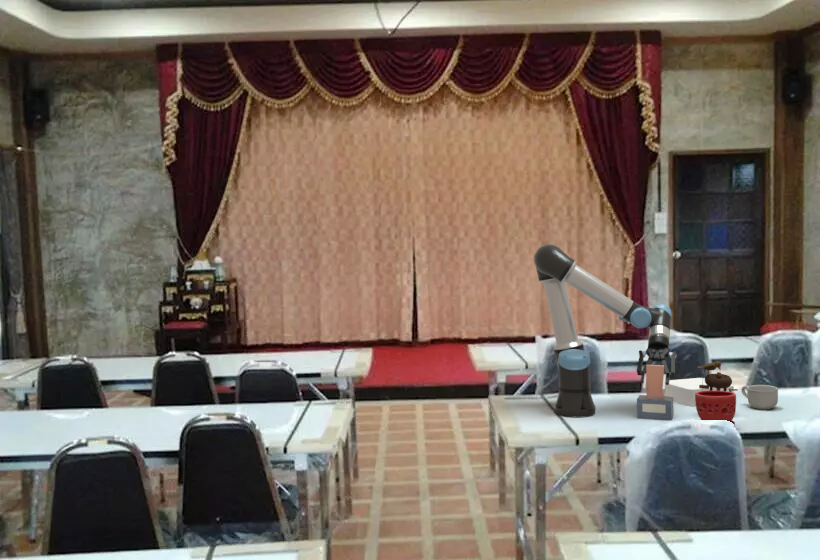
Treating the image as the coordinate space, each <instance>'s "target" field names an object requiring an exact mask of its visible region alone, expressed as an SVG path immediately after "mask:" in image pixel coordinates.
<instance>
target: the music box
mask: <svg viewBox="0 0 820 560" xmlns="http://www.w3.org/2000/svg"><path fill="white" fill-rule="evenodd" d="M696 367H697V369H702V372H701V373H704V371H705V370H706V371H707V374H706V376H705V377H704V378H705V383H706V384H707V385H703V382H702V385H699V388H702V391H703V389H709V387H710V391H713V388H717V391H720V389H721V388H724V391H726V389H727V388H728V387H730V386H731V385H733V379H732V378H731V377H730V375H728V374H725V373H724V374H722V372H721V371H722V370H721V367H722V363H721V361H718V360H716V361H715V362H709V363H706V364H704V365H702V366H701V365H700V366H696ZM717 368H718V369H719V371H716V373H710V371H714V370H717ZM731 390H732V391H734V392H735V391H738V390H739V389H737V388H735V389H730V388H729V392H731ZM715 405H717V404H715ZM702 406H703V404H702ZM706 407H707V406H706Z"/></svg>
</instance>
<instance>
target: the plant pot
mask: <svg viewBox="0 0 820 560" xmlns="http://www.w3.org/2000/svg"><path fill="white" fill-rule="evenodd" d="M695 402H696V407H695V408H696V412H697V415H698V417H699V420H727V421H730V422H732V423H733V424H734V426H735V425H736V422H735V421H734V417H735V414H736V409H737V408H736V405H737V394H736V393H735V392H734V393H733V392H728V391H700V392H696V393H695ZM702 404H703V406H702ZM715 404H717V405H715ZM706 406H707V407H706Z"/></svg>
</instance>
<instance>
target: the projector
mask: <svg viewBox="0 0 820 560" xmlns="http://www.w3.org/2000/svg"><path fill="white" fill-rule="evenodd" d="M702 382H703V385H707V384H706V383H705V377H696V378H695V377H694V378H691V377H690V378H681V379H680V378H679V379H669V385H666V390H665V393H664V396H668V397H673V401H674V402H673V403H676V402H677V404H680V405H683V406H686V407H693V408H694V407H695V408H696V402H695V393H696V392H700V391H702V388H699V385H702ZM729 388H730V389H734V384H731V386H730V387H728V388H727V389H726V391H728V392H729ZM703 391H710V387H709V389H703ZM713 391H717V388H713ZM720 391H724V388H721V389H720ZM731 392H733V393H735V391H732V390H731Z"/></svg>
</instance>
